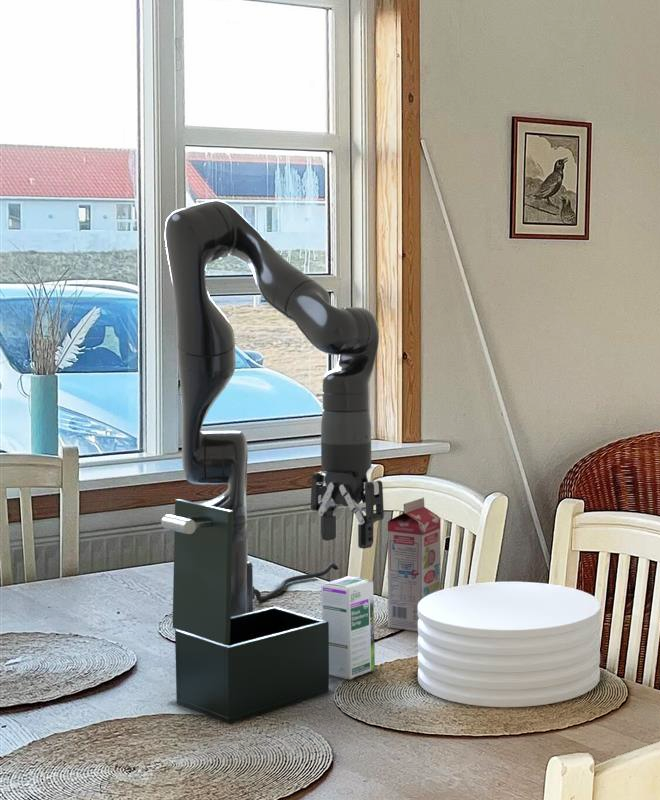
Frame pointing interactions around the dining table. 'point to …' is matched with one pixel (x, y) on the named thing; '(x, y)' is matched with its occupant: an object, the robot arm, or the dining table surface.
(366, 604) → the syrup box
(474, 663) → the plate stack
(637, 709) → the dining table surface
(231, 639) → the bin
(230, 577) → the bin lid
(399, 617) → the juice carton
